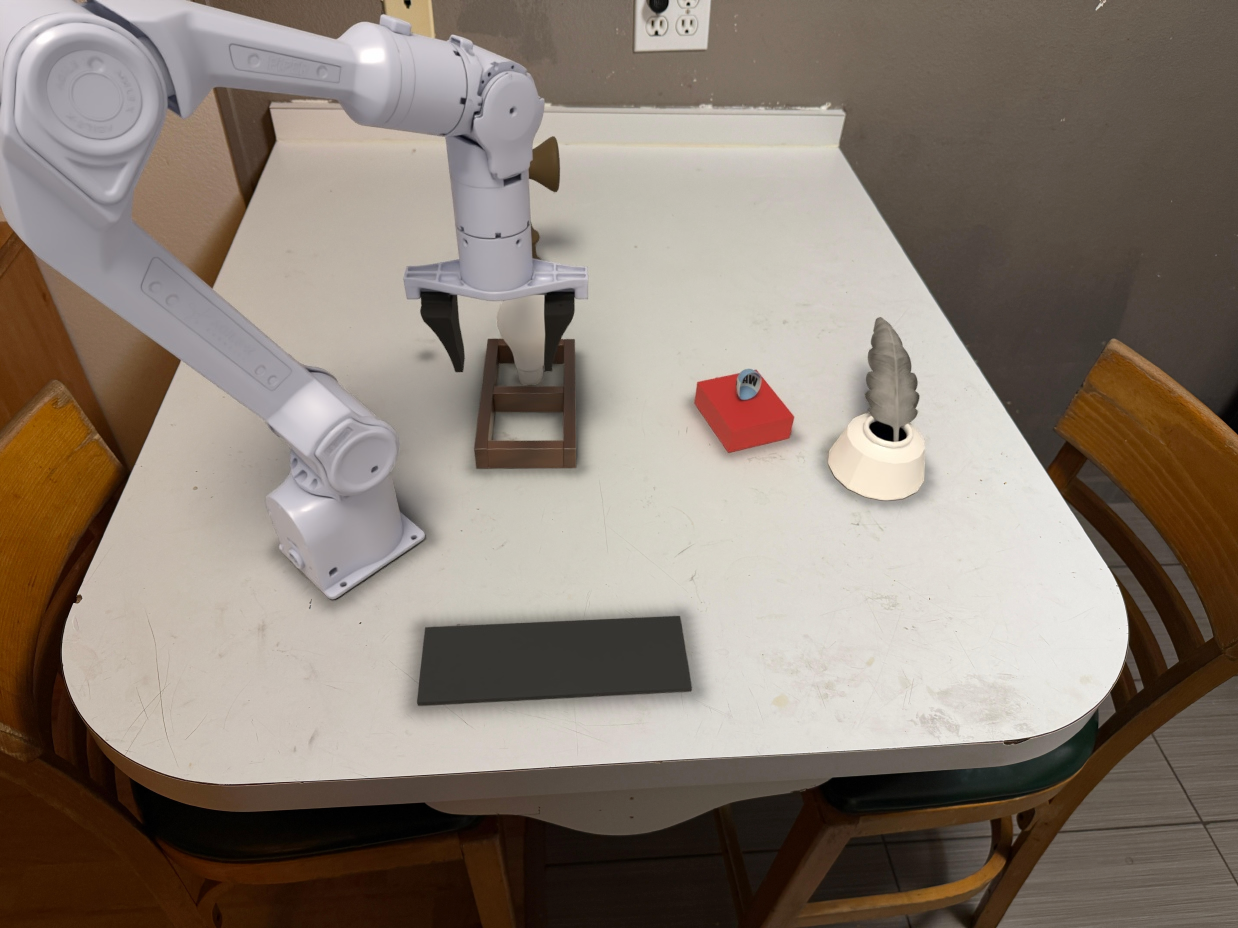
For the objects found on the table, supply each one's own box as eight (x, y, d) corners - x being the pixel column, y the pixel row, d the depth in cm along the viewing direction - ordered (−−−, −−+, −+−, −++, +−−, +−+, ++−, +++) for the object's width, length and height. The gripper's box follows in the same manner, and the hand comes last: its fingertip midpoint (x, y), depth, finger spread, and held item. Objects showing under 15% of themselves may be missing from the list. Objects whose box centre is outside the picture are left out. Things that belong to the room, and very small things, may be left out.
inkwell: (834, 499, 75) (860, 417, 69) (809, 380, 88) (828, 301, 82) (934, 504, 75) (970, 423, 69) (894, 384, 88) (920, 306, 82)
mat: (417, 705, 59) (416, 702, 58) (425, 630, 63) (424, 626, 63) (691, 691, 60) (691, 687, 60) (679, 619, 65) (680, 615, 65)
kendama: (562, 282, 101) (560, 118, 87) (484, 284, 100) (470, 119, 86) (559, 257, 105) (556, 98, 92) (483, 260, 104) (470, 99, 90)
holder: (476, 468, 77) (473, 449, 75) (489, 357, 89) (487, 338, 88) (576, 468, 77) (576, 448, 76) (574, 357, 90) (574, 338, 88)
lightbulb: (493, 374, 87) (486, 284, 80) (547, 361, 89) (544, 272, 82) (513, 407, 83) (506, 316, 76) (568, 393, 85) (567, 303, 78)
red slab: (694, 403, 85) (700, 353, 81) (752, 390, 87) (761, 341, 82) (728, 452, 80) (737, 402, 75) (789, 438, 81) (801, 388, 77)
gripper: (587, 197, 65) (586, 338, 75) (403, 196, 64) (425, 338, 74) (589, 241, 60) (588, 386, 70) (390, 240, 59) (415, 387, 69)
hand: (504, 365), depth 71 cm, fingers open, 7 cm apart
